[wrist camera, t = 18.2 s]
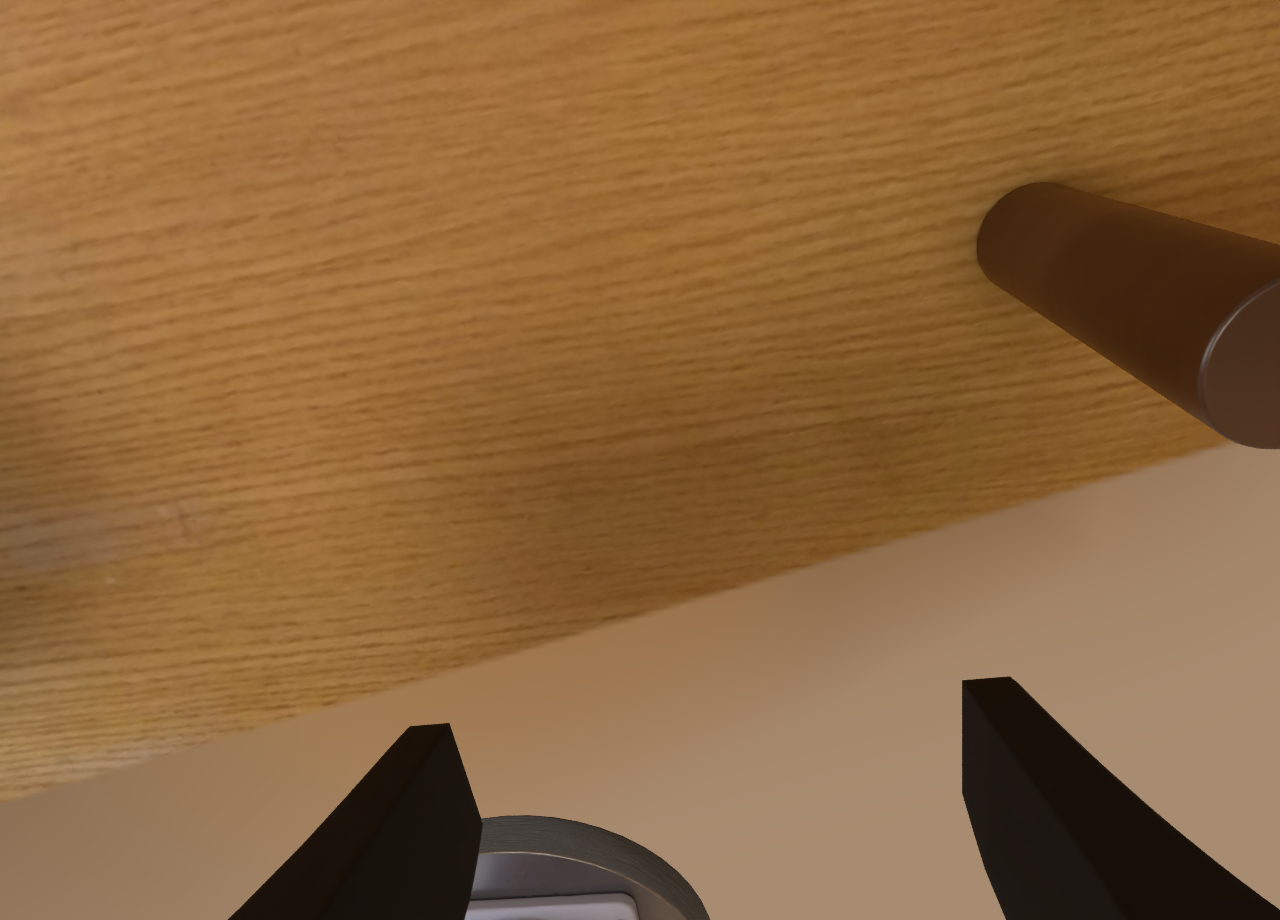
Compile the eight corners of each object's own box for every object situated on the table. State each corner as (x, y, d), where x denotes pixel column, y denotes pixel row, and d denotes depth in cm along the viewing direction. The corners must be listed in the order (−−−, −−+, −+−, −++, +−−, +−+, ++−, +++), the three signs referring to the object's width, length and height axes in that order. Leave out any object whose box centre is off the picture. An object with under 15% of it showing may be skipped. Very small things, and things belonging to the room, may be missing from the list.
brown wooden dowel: (1084, 283, 19) (1390, 439, 10) (975, 298, 19) (1189, 462, 11) (1091, 173, 18) (1434, 250, 9) (976, 191, 18) (1211, 280, 10)
